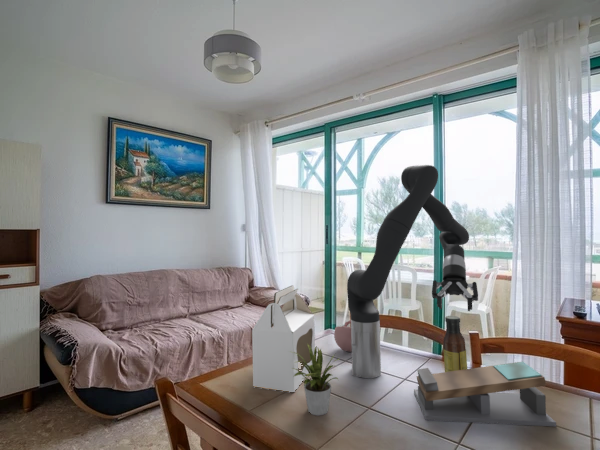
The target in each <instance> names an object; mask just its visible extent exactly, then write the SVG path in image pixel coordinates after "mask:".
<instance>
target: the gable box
mask: <svg viewBox="0 0 600 450" xmlns="http://www.w3.org/2000/svg"><path fill="white" fill-rule="evenodd" d="M298 290H299V288H296V289H295V287H294V285H290V286H287V287H284V288H282V289H280V290H278V291H276V292H274V296H273V302H271V303H269V304H268V305H267V306H266V308H265V310H264V311H263V312H262V314H261V316H260V317H259V319H258V320H257V322H256V324H255V325H254V327H253V328H252V329H251V332H252V334H251V337H252V338H251V339H252V343H251V344H252V346H251V347H252V387H253V386H257V387H265V388H272V389H277V390H283V391H289V392H288V393H290V392H294V393H295V392H296V391H297V390H298V389H299V388H300V386H301V385H302V383H303V382H304V381H305V380H306V378H307V376H305V377H306V378H305V377H303V376H302V375H301V374H300V375H297V376H294V375H295V374H296V373H298V371H297V370H296V369H298V370H302V371H300V372H303V373H305V374H309V372H308V370H307V369H306V368H305V366H304V365H305V364H304V363H305V362H306V363H307V365H308V366H310V365H312V361H311V358H310V352H309V348H308V345H309V346H310V347H311V348H312V351H313V355H314V350H315V347H316V340H315V339H316V336H315V327H316V326H315V314H314V313H313V312H312V311H311V309H310V307H309V306H308V305H307V303H306V302H305V300H304V299H303V297H302V296H301V295H300V294H299V293H297V292H298ZM281 306H282V307H281ZM307 344H308V345H307ZM292 352H295V353H292ZM296 353H297V354H296ZM298 354H299V355H300V356H301V357H302V358H303V359H304V360H305V362H304V360H303V359H302V358H301V357H300V356H299V355H298ZM297 355H298V356H297ZM297 361H301V362H300V363H302V364H304V365H303V366H301V369H299V368H298V362H297ZM294 362H295V363H294ZM303 362H304V363H303ZM302 364H301V365H302ZM293 368H295V369H293ZM307 368H308V367H307ZM309 371H310V370H309ZM305 374H303V375H305ZM293 376H294V377H293ZM302 378H304V379H302ZM302 381H303V382H302ZM299 385H300V386H299ZM296 389H297V390H296ZM295 390H296V391H295ZM283 391H282V392H283Z"/></svg>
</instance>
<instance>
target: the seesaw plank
mask: <svg viewBox="0 0 600 450" xmlns="http://www.w3.org/2000/svg"><path fill="white" fill-rule="evenodd" d="M416 379H417V380H416V381H417V386H419V387H420V389H421V391H422V393H423V395H424V397H425V399H426V401H432V400H440V399H448V398H455V397H463V396H471V395H479V394H486V393H494V392H496V393H503V392H510V391H515V390H520V389H525V388H533V387H536V388H538V387H546V386H547V383H546V382H547V381H546V378H545V376H543V375H542V374H541V373H539V371H537V370H536V369H534V368H533V367H532V366H530V365H529V364H527V363H526V362H525V361H517V362H516V361H515V362H509V363H502V364H501V363H500V364H495V365H487V366H482V367H481V366H480V367H474V368H467V369H465V370H457V371H450V372H445V371H443V372H437V373H432V372H431V370H430V368H429V367H425V368H424V367H423V368H417V376H416Z"/></svg>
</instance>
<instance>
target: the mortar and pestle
mask: <svg viewBox="0 0 600 450" xmlns="http://www.w3.org/2000/svg"><path fill="white" fill-rule="evenodd" d="M348 325H351V319H350V320H348V321H345V323H344V325H342V326H341V325H340V326H339V325H337V326H336V327H335V328H334V332H333V335H334V336H333V337H334V341H335V344H336V345H337V346H338V347H339V348H340V350H341V351H344V352H347V353H352V345H351V340H352V339H351V326H348Z"/></svg>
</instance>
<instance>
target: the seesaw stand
mask: <svg viewBox="0 0 600 450" xmlns="http://www.w3.org/2000/svg"><path fill="white" fill-rule="evenodd" d="M413 393H414V396H415V398H416V401H417V402H418V405H419V408H420V410H421V412H422V415H423V417H424V419H425V421H434V422H435V421H438V422H439V421H441V422H456V423H457V422H459V423H460V422H461V423H474V424H475V423H476V424H477V423H478V424H479V423H481V424H497V425H498V424H500V425H518V426H520V425H521V426H534V427H535V426H537V427H538V426H539V427H557V422H556V420H554V419H553V418H552V417H551V416H550V415H549V414H548V413H547V408H546V406H547V404H546V394H544V392H542V391H541V390H539V389H538V387H533V388H525V389H519V392H517V393H516V392H514V393H513V392H494V393H486V394H479V395H471V396H463V397H455V398H448V399H440V400H432V401H426V399H425V397H424V395H423V393H422V391H421V389H420V387H419V385H417V389H413Z"/></svg>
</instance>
